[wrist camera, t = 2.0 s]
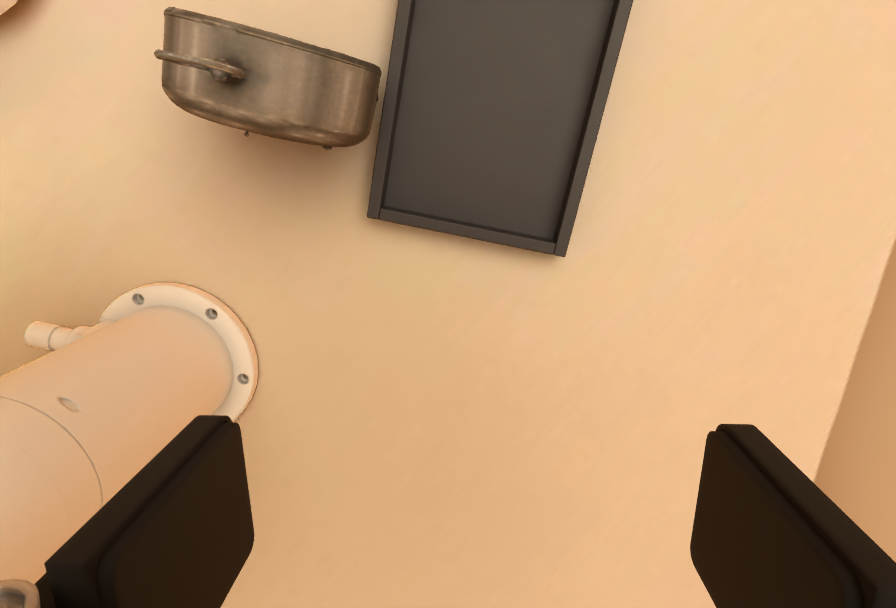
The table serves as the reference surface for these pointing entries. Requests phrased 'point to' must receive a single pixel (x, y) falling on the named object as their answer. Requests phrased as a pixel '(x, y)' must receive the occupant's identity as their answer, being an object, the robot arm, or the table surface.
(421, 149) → the tray
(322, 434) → the table surface
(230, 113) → the alarm clock
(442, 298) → the table surface
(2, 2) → the flower in vase
